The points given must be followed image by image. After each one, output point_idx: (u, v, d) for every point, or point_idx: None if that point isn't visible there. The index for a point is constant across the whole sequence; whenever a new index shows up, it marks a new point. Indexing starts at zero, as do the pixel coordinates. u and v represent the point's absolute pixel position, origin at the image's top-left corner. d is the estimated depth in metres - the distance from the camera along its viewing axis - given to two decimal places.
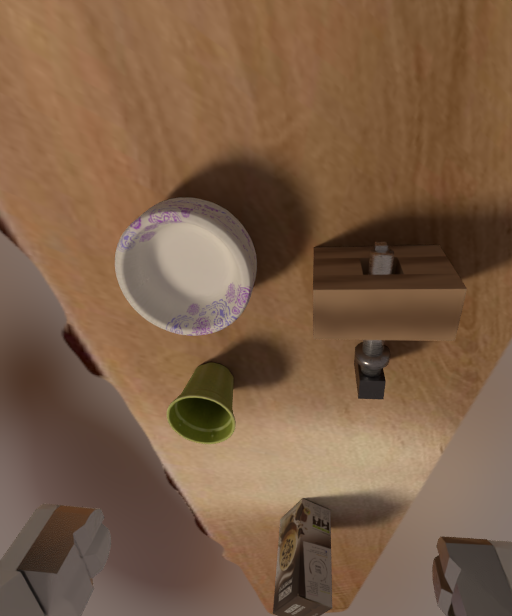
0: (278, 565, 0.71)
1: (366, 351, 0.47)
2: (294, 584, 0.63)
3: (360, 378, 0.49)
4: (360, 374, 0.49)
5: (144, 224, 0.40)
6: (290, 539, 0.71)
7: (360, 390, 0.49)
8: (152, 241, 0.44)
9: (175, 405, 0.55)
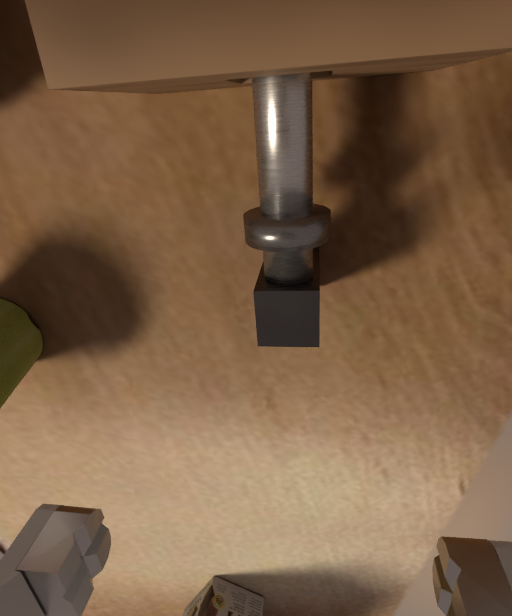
0: None
1: (264, 206, 0.18)
2: None
3: (257, 287, 0.19)
4: (260, 281, 0.19)
5: None
6: None
7: (259, 322, 0.19)
8: None
9: None
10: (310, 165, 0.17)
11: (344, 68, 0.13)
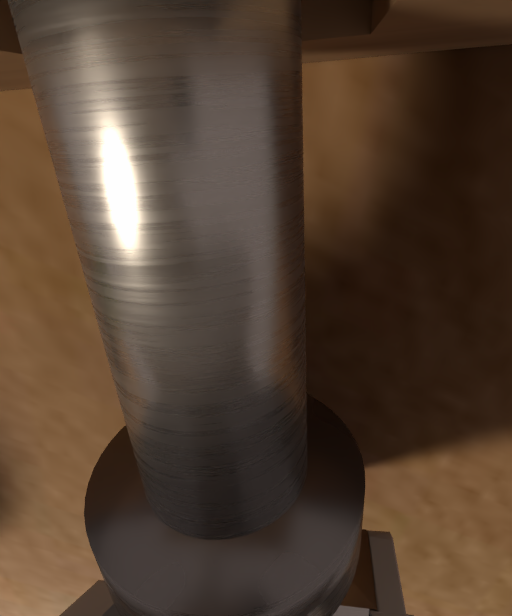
0: None
1: (142, 479, 0.05)
2: None
3: None
4: None
5: None
6: None
7: None
8: None
9: None
10: (297, 364, 0.04)
11: None
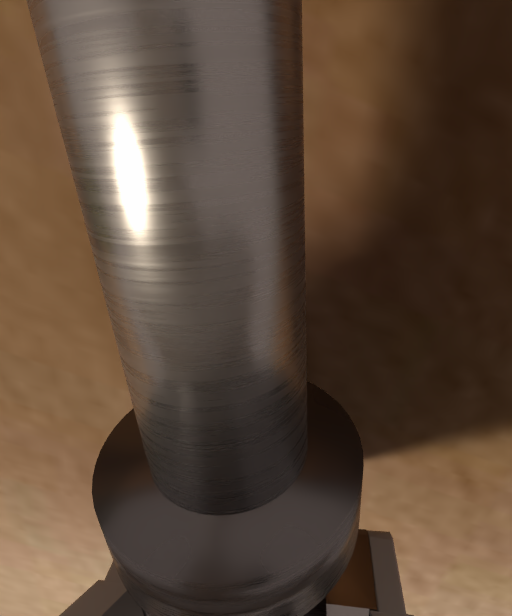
0: None
1: (148, 458, 0.05)
2: None
3: None
4: None
5: None
6: None
7: None
8: None
9: None
10: (297, 345, 0.05)
11: None
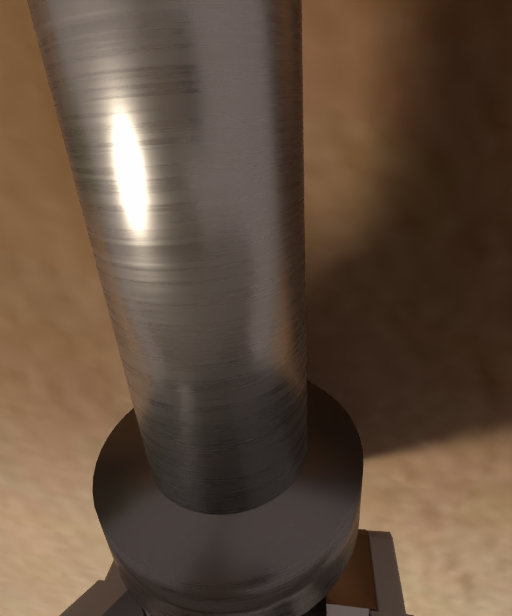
0: None
1: (149, 458, 0.05)
2: None
3: None
4: None
5: None
6: None
7: None
8: None
9: None
10: (297, 345, 0.05)
11: None
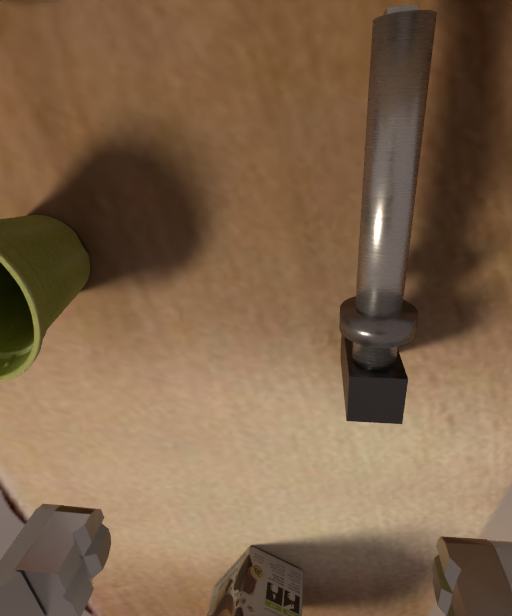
0: None
1: (363, 307, 0.21)
2: None
3: (350, 372, 0.22)
4: (351, 365, 0.22)
5: None
6: None
7: (351, 401, 0.22)
8: None
9: None
10: (405, 276, 0.20)
11: None
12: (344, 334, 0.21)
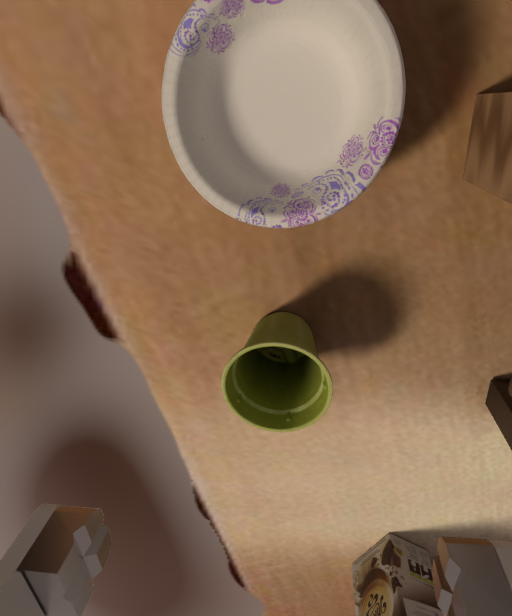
0: None
1: None
2: None
3: None
4: None
5: None
6: (377, 594, 0.49)
7: None
8: (224, 61, 0.27)
9: (233, 367, 0.35)
10: None
11: None
12: None
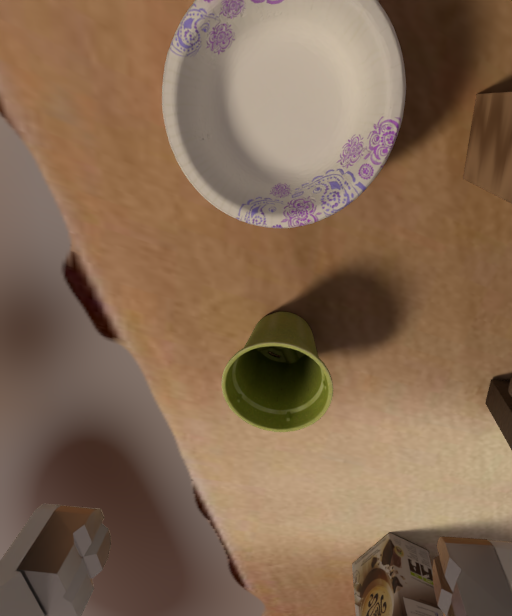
0: None
1: None
2: None
3: None
4: None
5: None
6: (377, 594, 0.49)
7: None
8: (224, 61, 0.27)
9: (233, 367, 0.35)
10: None
11: None
12: None
